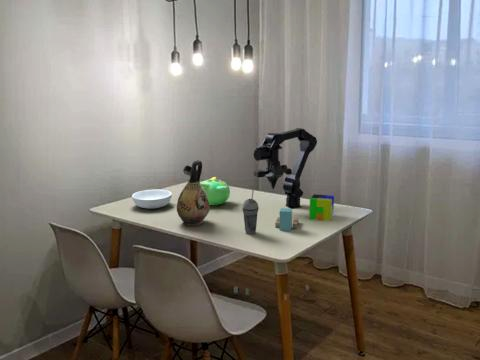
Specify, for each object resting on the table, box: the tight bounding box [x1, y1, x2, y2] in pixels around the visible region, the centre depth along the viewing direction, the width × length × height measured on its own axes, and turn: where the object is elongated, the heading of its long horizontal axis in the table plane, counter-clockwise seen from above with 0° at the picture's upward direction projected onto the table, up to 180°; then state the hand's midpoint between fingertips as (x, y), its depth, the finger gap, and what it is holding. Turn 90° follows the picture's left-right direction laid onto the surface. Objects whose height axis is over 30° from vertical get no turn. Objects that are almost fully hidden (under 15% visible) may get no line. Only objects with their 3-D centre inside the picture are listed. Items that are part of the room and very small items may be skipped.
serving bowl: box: [131, 189, 173, 210], centre depth 257 cm, size 21×21×7 cm
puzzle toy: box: [309, 193, 335, 221], centre depth 235 cm, size 10×10×10 cm
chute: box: [275, 216, 299, 229], centre depth 224 cm, size 9×10×2 cm
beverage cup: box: [241, 188, 260, 236], centre depth 212 cm, size 7×7×20 cm
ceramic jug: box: [176, 159, 210, 227], centre depth 226 cm, size 17×15×30 cm
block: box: [279, 207, 293, 232], centre depth 218 cm, size 5×5×9 cm
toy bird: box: [200, 176, 231, 206], centre depth 258 cm, size 18×17×15 cm
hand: (272, 188), depth 243 cm, fingers closed
